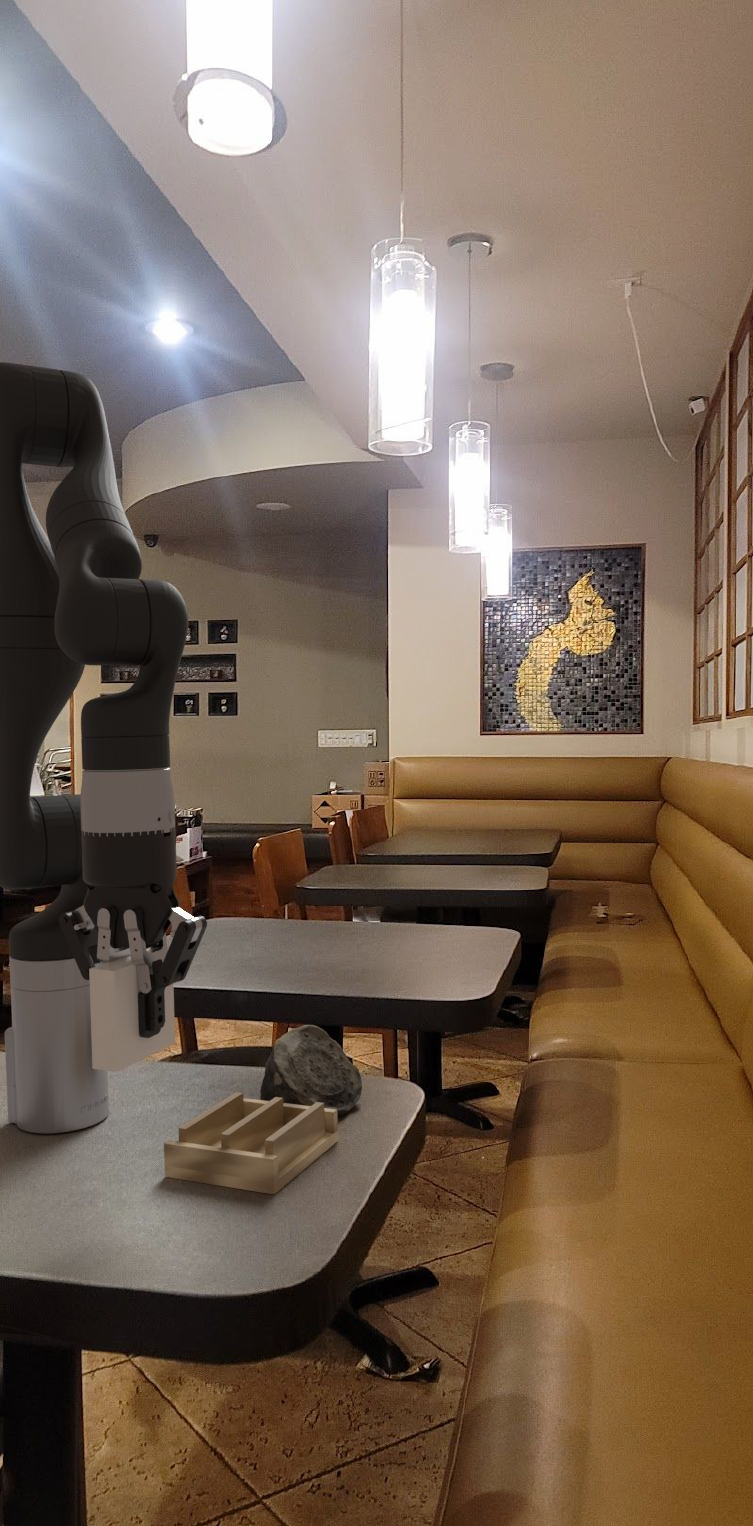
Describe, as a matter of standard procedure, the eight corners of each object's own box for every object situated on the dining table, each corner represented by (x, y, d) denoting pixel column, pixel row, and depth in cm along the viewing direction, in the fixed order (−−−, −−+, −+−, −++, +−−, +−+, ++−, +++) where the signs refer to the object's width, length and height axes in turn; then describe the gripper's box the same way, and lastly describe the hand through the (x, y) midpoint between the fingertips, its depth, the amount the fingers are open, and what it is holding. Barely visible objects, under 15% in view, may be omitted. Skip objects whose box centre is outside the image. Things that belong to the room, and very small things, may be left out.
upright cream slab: (92, 1068, 86) (89, 968, 86) (151, 1040, 93) (148, 948, 93) (117, 1071, 85) (114, 971, 85) (175, 1043, 92) (172, 950, 92)
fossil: (350, 1123, 106) (300, 1033, 106) (273, 1161, 108) (224, 1073, 108) (374, 1083, 116) (328, 1002, 117) (303, 1119, 118) (259, 1039, 119)
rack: (165, 1176, 96) (163, 1131, 96) (238, 1126, 107) (236, 1087, 107) (274, 1194, 91) (272, 1147, 91) (338, 1140, 103) (336, 1099, 103)
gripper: (29, 827, 88) (37, 1038, 88) (174, 830, 82) (180, 1055, 83) (88, 818, 94) (95, 1014, 95) (225, 821, 89) (231, 1029, 90)
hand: (135, 1032), depth 89 cm, fingers closed on upright cream slab, 2 cm apart
